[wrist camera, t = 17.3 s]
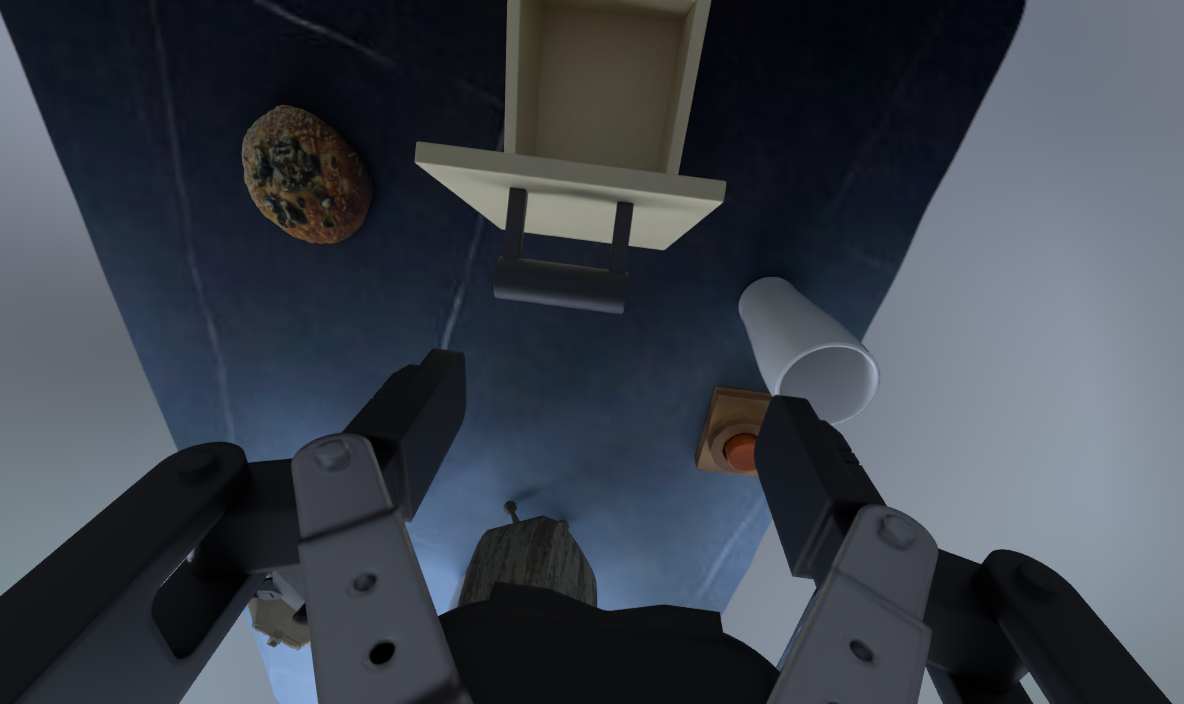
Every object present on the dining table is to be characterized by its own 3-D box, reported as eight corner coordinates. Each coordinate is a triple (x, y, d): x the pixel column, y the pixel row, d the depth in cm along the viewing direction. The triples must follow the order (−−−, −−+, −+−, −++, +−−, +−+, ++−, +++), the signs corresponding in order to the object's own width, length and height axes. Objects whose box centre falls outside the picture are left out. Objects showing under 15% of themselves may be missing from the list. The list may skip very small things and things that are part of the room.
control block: (715, 386, 48) (721, 405, 45) (781, 394, 48) (792, 414, 45) (694, 459, 53) (698, 481, 50) (754, 467, 53) (763, 489, 50)
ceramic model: (257, 565, 67) (202, 635, 59) (294, 531, 63) (241, 600, 55) (340, 612, 72) (301, 684, 63) (380, 582, 68) (344, 654, 59)
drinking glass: (817, 279, 42) (904, 359, 29) (781, 342, 46) (845, 439, 32) (749, 257, 42) (806, 328, 29) (717, 322, 45) (756, 413, 32)
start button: (729, 431, 47) (733, 442, 46) (764, 435, 47) (769, 446, 46) (720, 458, 49) (724, 469, 47) (754, 462, 49) (759, 474, 47)
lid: (415, 140, 17) (403, 286, 18) (727, 180, 17) (705, 326, 18) (501, 217, 32) (493, 294, 33) (666, 238, 32) (655, 315, 33)
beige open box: (534, -9, 34) (508, -42, 26) (693, 12, 34) (714, -15, 26) (525, 198, 41) (502, 221, 33) (657, 215, 41) (665, 242, 33)
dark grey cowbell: (492, 494, 58) (411, 735, 36) (557, 476, 56) (515, 719, 34) (542, 567, 64) (500, 812, 42) (603, 553, 62) (592, 803, 40)
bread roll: (398, 223, 42) (363, 237, 38) (306, 251, 45) (264, 266, 41) (336, 88, 38) (289, 86, 33) (239, 129, 41) (185, 133, 37)
